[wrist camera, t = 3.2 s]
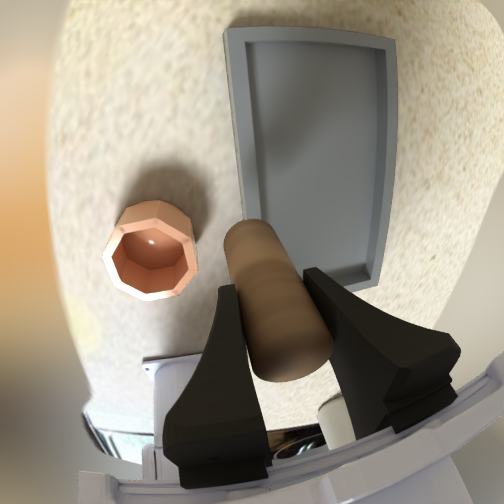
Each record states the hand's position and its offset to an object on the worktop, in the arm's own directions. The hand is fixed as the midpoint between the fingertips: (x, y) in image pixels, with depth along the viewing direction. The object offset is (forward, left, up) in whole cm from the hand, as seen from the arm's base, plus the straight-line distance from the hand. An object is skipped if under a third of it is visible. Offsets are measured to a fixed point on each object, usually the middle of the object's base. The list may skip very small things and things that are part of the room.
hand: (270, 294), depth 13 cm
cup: (-2, +7, -11) cm, 13 cm away
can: (-39, -12, -11) cm, 42 cm away
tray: (+1, -6, -11) cm, 12 cm away
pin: (0, 0, -4) cm, 4 cm away
